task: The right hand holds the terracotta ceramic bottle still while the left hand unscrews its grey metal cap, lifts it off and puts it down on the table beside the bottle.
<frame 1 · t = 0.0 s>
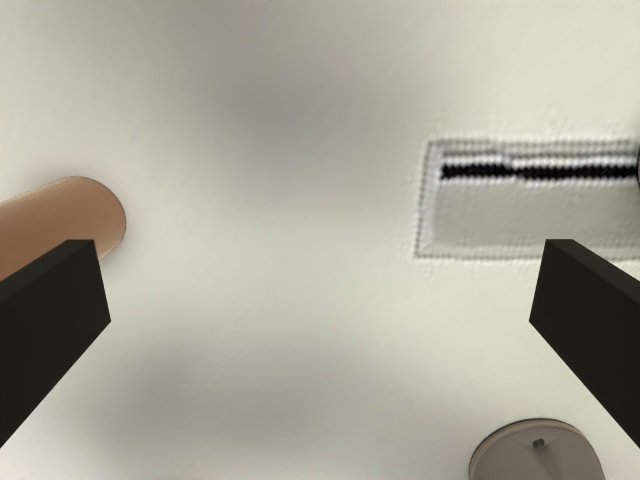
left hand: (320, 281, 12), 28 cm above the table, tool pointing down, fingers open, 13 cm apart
bottle: (84, 217, 41), on the table
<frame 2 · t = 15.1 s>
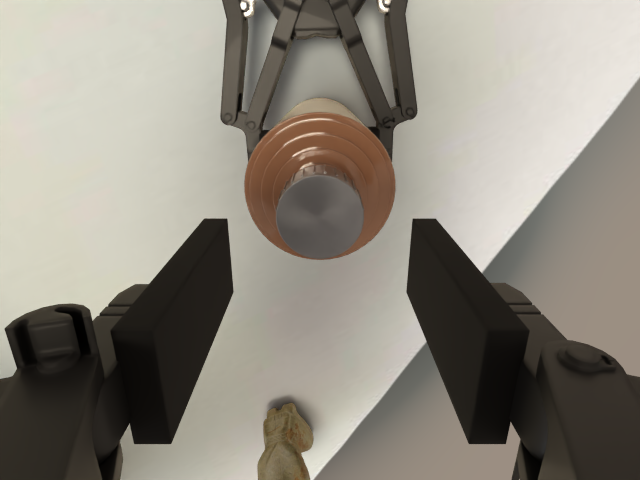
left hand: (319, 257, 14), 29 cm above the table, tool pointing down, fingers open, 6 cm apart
right hand: (321, 205, 37), fingers closed on bottle, 8 cm apart
cap: (319, 216, 18), point 24 cm above the table, screwed on, not yet turned
sculpture: (289, 418, 53), on the table
bottle: (319, 141, 41), on the table, touching right hand
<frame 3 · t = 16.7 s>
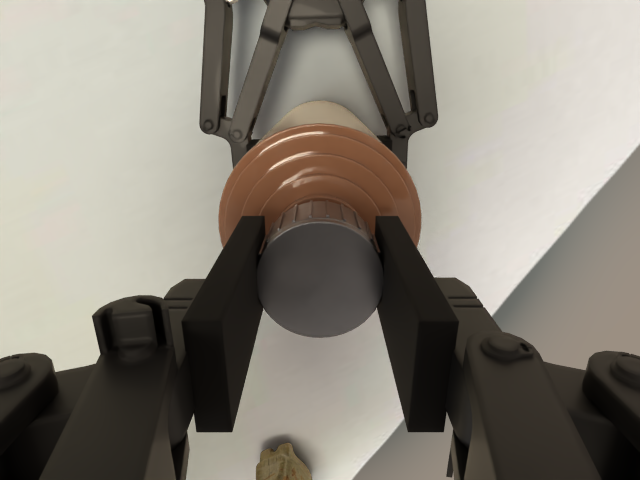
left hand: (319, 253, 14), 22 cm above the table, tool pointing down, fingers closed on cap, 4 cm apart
right hand: (321, 228, 31), fingers closed on bottle, 8 cm apart
cap: (319, 278, 12), point 24 cm above the table, screwed on, not yet turned, touching left hand
sculpture: (285, 458, 47), on the table
bottle: (319, 151, 35), on the table, touching right hand
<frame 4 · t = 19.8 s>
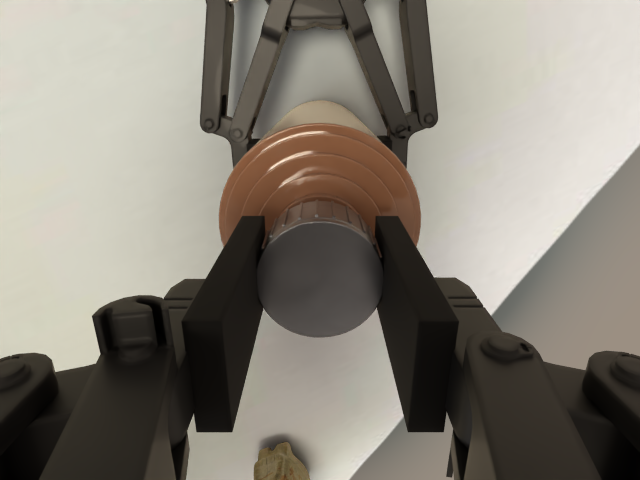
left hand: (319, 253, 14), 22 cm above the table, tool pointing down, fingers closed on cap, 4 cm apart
right hand: (321, 228, 31), fingers closed on bottle, 8 cm apart
cap: (319, 278, 12), point 24 cm above the table, turned 85° so far, risen 0.1 cm, still on its thread, touching left hand
sculpture: (283, 458, 48), on the table
bottle: (319, 151, 35), on the table, touching right hand
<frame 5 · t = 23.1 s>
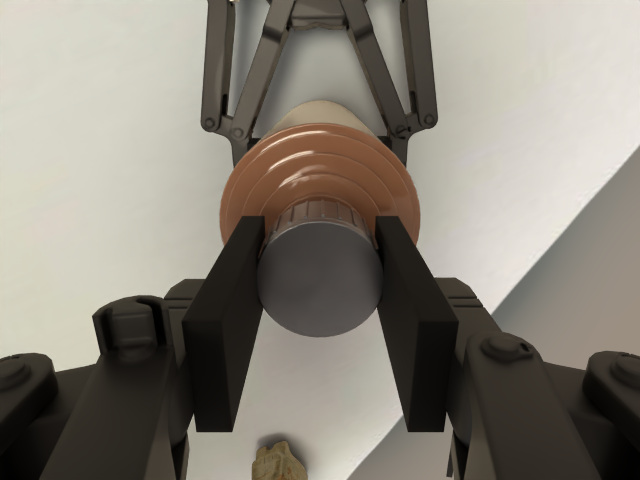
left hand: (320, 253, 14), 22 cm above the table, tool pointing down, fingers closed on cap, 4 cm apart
right hand: (320, 227, 31), fingers closed on bottle, 8 cm apart
cap: (319, 278, 12), point 24 cm above the table, turned 170° so far, risen 0.2 cm, still on its thread, touching left hand
sculpture: (281, 457, 48), on the table
bottle: (319, 151, 35), on the table, touching right hand
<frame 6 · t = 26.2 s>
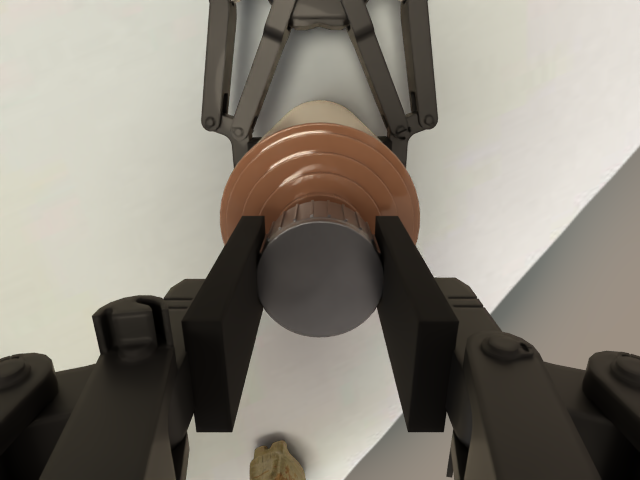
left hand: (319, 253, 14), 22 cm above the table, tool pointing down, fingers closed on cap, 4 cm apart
right hand: (320, 227, 31), fingers closed on bottle, 8 cm apart
cap: (319, 278, 12), point 24 cm above the table, turned 255° so far, risen 0.2 cm, still on its thread, touching left hand
sculpture: (279, 456, 48), on the table
bottle: (319, 150, 35), on the table, touching right hand
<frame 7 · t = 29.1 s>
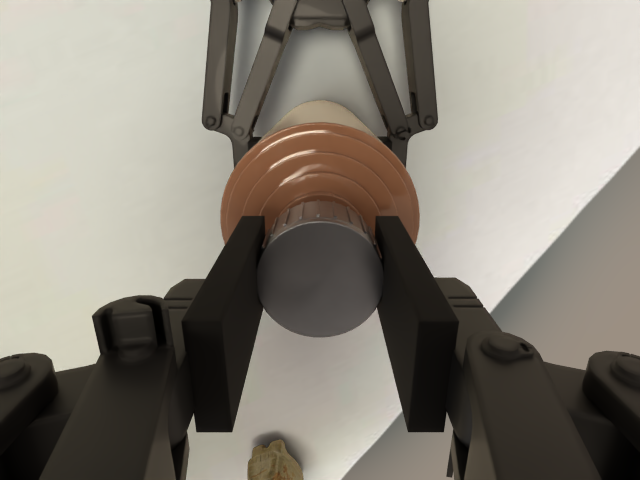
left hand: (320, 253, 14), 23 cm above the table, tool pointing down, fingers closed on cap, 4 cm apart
right hand: (320, 226, 31), fingers closed on bottle, 8 cm apart
cap: (320, 278, 12), point 24 cm above the table, turned 340° so far, risen 0.3 cm, still on its thread, touching left hand
sculpture: (277, 455, 48), on the table
bottle: (319, 150, 35), on the table, touching right hand
when the left hand's fingers open (1 cm above the table, at t = 39.8 s): cap drops 1 cm, point 2 cm above the table.
when the right hand's fingers open (6 cm above the table, at t = 41.1 s): bottle stays where it is, on the table.
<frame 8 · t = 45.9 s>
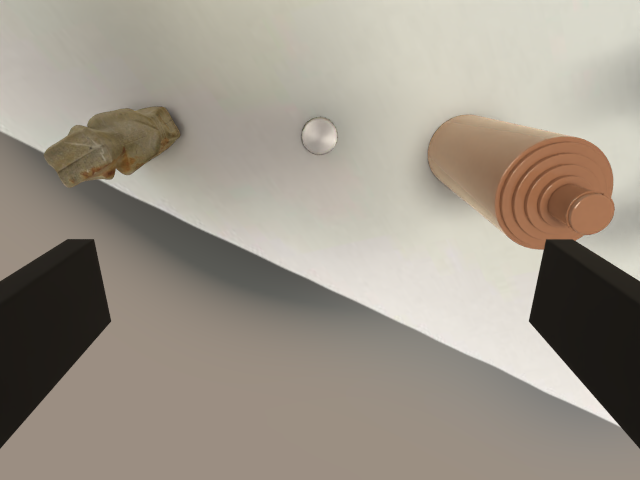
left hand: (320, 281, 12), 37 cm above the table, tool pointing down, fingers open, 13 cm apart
cap: (319, 136, 45), point 2 cm above the table, off its thread
sculpture: (154, 132, 47), on the table
bottle: (463, 151, 47), on the table
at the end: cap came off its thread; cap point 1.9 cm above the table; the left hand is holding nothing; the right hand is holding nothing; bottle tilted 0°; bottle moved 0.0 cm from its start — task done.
